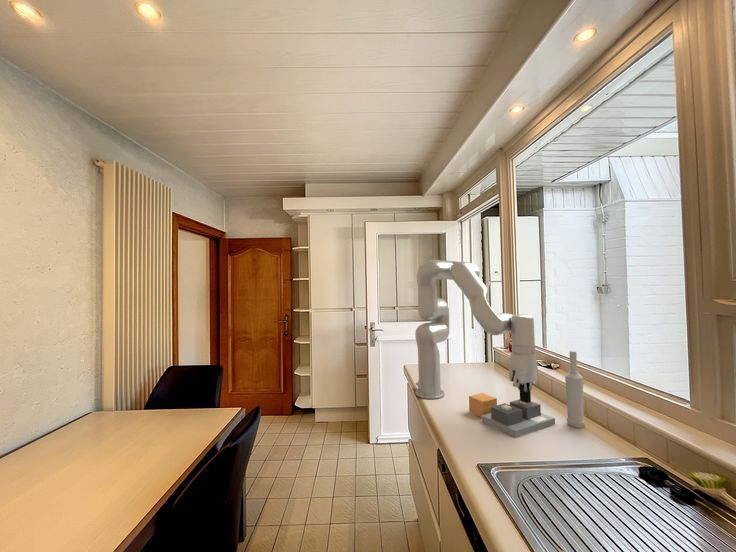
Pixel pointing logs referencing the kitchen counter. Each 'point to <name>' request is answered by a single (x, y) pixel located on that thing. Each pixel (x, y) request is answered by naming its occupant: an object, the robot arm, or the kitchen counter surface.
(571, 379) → the bottle
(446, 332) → the robot arm
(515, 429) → the panel
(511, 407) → the toggle near
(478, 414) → the orange cube-like block
